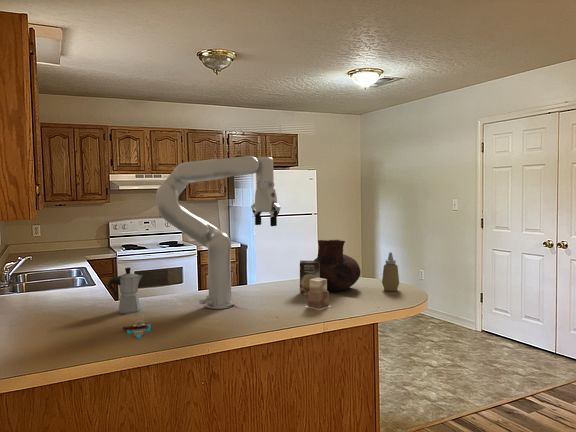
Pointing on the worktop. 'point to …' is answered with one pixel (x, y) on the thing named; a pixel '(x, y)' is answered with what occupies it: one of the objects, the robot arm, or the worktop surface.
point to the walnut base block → (318, 300)
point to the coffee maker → (127, 291)
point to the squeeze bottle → (390, 274)
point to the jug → (336, 265)
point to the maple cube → (318, 285)
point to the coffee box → (308, 274)
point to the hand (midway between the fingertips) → (265, 225)
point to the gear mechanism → (140, 326)
